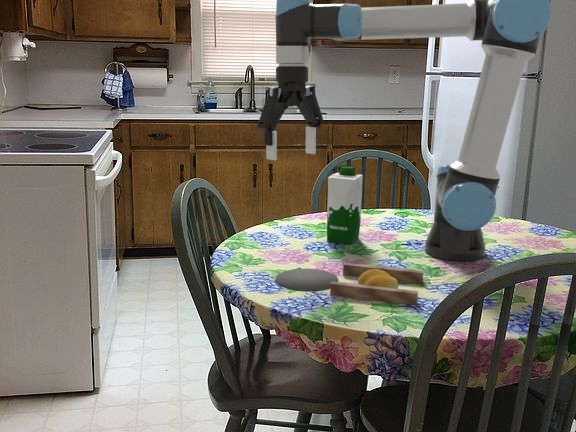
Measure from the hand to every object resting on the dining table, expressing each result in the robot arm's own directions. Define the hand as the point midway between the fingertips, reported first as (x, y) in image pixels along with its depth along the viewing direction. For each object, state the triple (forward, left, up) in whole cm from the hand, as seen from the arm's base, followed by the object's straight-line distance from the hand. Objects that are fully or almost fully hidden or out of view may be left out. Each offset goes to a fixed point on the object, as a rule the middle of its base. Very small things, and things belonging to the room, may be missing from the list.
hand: (291, 156), depth 152 cm
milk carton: (-9, -21, -26) cm, 34 cm away
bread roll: (-24, +14, -26) cm, 38 cm away
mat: (-8, +14, -26) cm, 30 cm away
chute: (-24, +14, -26) cm, 38 cm away
